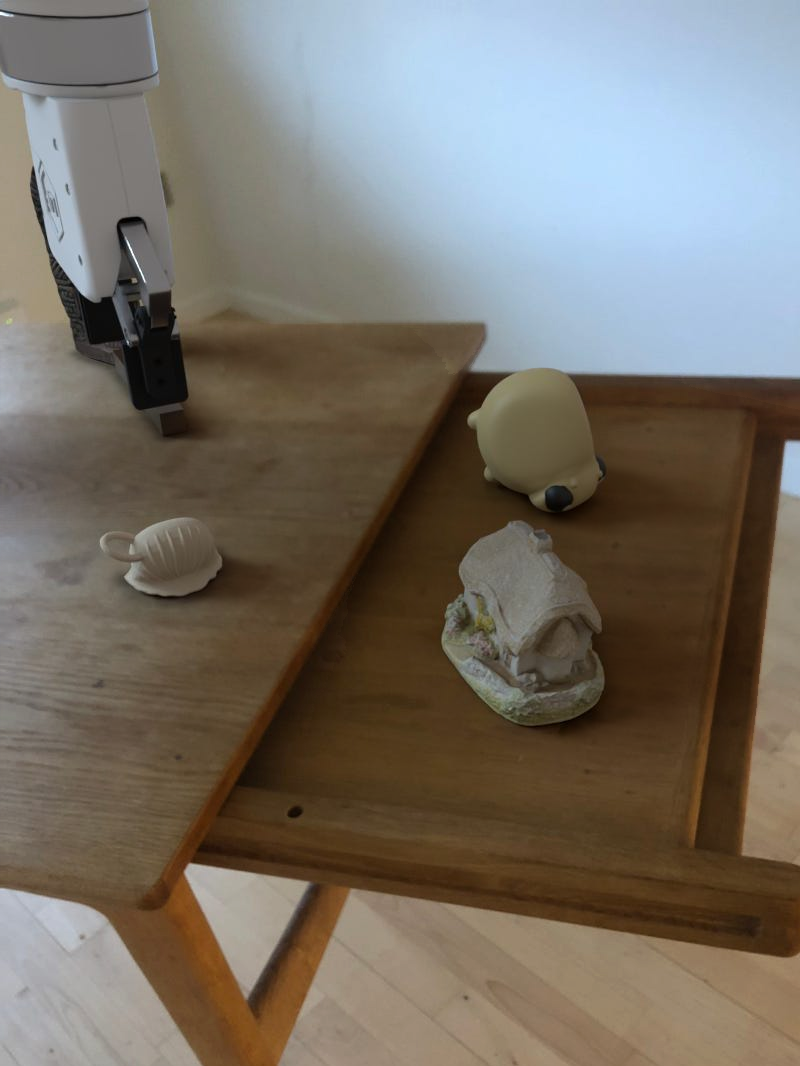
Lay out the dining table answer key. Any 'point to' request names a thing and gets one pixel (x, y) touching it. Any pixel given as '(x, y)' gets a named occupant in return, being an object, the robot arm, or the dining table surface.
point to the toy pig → (539, 439)
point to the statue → (72, 294)
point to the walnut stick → (163, 417)
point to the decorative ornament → (168, 557)
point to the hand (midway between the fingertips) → (136, 370)
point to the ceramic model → (524, 629)
